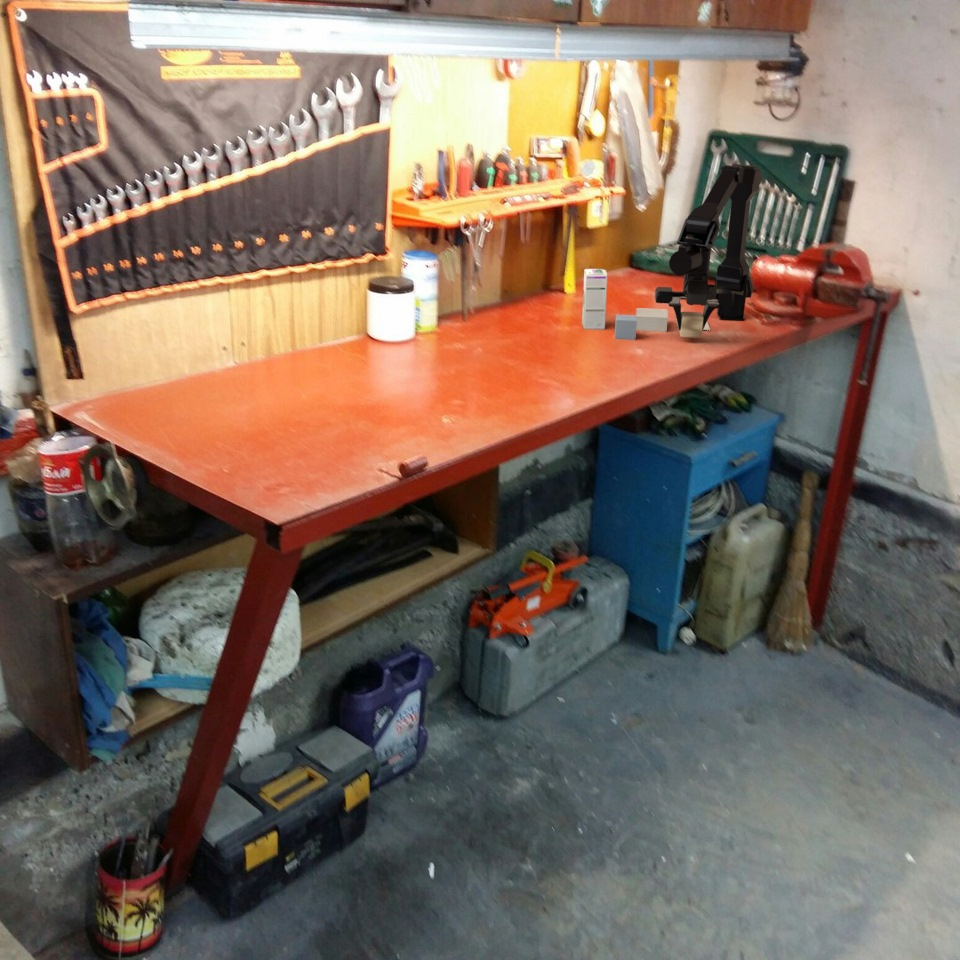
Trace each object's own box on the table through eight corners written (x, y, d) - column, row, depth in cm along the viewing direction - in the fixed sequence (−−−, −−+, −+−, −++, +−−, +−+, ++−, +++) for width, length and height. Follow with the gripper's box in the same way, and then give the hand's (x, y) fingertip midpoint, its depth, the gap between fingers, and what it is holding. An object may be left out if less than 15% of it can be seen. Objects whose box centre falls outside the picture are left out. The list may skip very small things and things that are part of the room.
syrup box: (605, 329, 253) (609, 273, 247) (582, 329, 253) (585, 273, 247) (603, 323, 258) (606, 268, 252) (580, 323, 258) (583, 268, 252)
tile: (706, 322, 260) (706, 320, 260) (710, 331, 253) (710, 328, 253) (676, 321, 261) (676, 318, 261) (678, 329, 254) (678, 327, 254)
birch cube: (699, 331, 247) (701, 312, 245) (701, 337, 242) (703, 317, 240) (679, 331, 247) (681, 311, 245) (680, 336, 243) (682, 317, 241)
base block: (666, 324, 259) (667, 309, 258) (666, 332, 252) (667, 317, 251) (635, 322, 261) (636, 307, 259) (634, 331, 254) (636, 316, 252)
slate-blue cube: (634, 334, 250) (636, 315, 248) (635, 340, 246) (636, 320, 243) (614, 333, 250) (616, 314, 248) (615, 339, 246) (616, 320, 244)
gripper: (660, 274, 231) (654, 338, 238) (740, 276, 230) (732, 341, 236) (657, 263, 241) (651, 325, 248) (734, 266, 240) (727, 328, 246)
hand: (690, 330), depth 244 cm, fingers closed on birch cube, 5 cm apart
